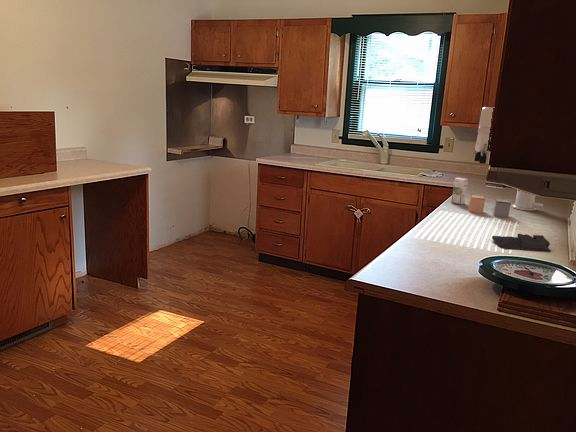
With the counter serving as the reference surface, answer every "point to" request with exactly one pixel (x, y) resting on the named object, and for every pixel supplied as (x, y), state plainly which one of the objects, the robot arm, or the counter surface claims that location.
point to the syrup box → (459, 190)
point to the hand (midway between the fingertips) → (479, 162)
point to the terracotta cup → (476, 204)
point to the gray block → (501, 208)
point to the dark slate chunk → (523, 243)
